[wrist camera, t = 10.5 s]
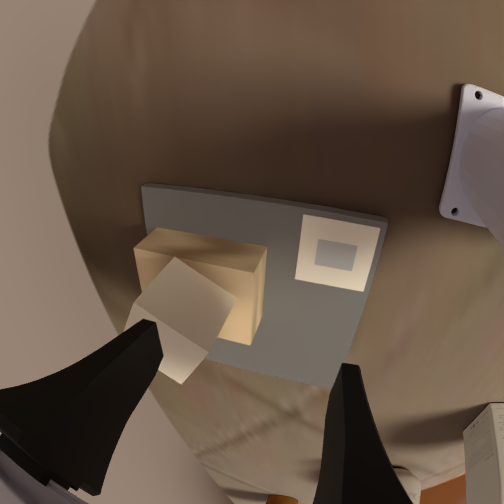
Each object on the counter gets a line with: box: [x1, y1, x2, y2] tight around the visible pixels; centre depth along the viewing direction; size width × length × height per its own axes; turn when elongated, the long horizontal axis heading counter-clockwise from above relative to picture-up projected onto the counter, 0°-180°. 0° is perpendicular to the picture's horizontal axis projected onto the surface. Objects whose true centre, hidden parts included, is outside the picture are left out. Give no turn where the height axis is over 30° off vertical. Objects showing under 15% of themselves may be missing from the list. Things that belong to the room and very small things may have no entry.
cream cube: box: [124, 257, 237, 384], centre depth 18 cm, size 4×4×4 cm
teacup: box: [393, 468, 420, 504], centre depth 31 cm, size 14×11×8 cm
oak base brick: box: [134, 227, 267, 345], centre depth 21 cm, size 8×6×3 cm
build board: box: [141, 183, 388, 388], centre depth 23 cm, size 16×16×1 cm
